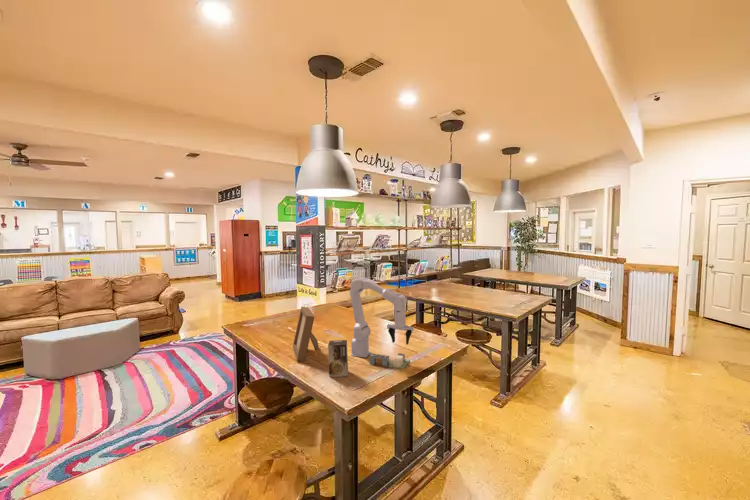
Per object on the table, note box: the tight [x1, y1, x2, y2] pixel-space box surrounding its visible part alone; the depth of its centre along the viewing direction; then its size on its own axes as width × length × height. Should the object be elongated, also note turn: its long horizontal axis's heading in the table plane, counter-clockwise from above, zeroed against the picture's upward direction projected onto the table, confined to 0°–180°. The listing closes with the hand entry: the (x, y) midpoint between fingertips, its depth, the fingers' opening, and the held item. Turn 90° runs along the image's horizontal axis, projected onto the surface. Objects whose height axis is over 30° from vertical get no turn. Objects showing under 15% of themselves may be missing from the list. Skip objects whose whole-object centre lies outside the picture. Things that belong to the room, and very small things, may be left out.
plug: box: [393, 353, 406, 367], centre depth 167 cm, size 4×8×4 cm, turn 157°
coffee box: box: [327, 339, 349, 378], centre depth 156 cm, size 9×6×16 cm
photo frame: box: [292, 306, 319, 362], centre depth 183 cm, size 15×22×25 cm
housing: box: [368, 352, 390, 368], centre depth 166 cm, size 10×3×5 cm, turn 67°
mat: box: [388, 358, 410, 370], centre depth 167 cm, size 8×11×1 cm
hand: (400, 343), depth 168 cm, fingers open, 7 cm apart
